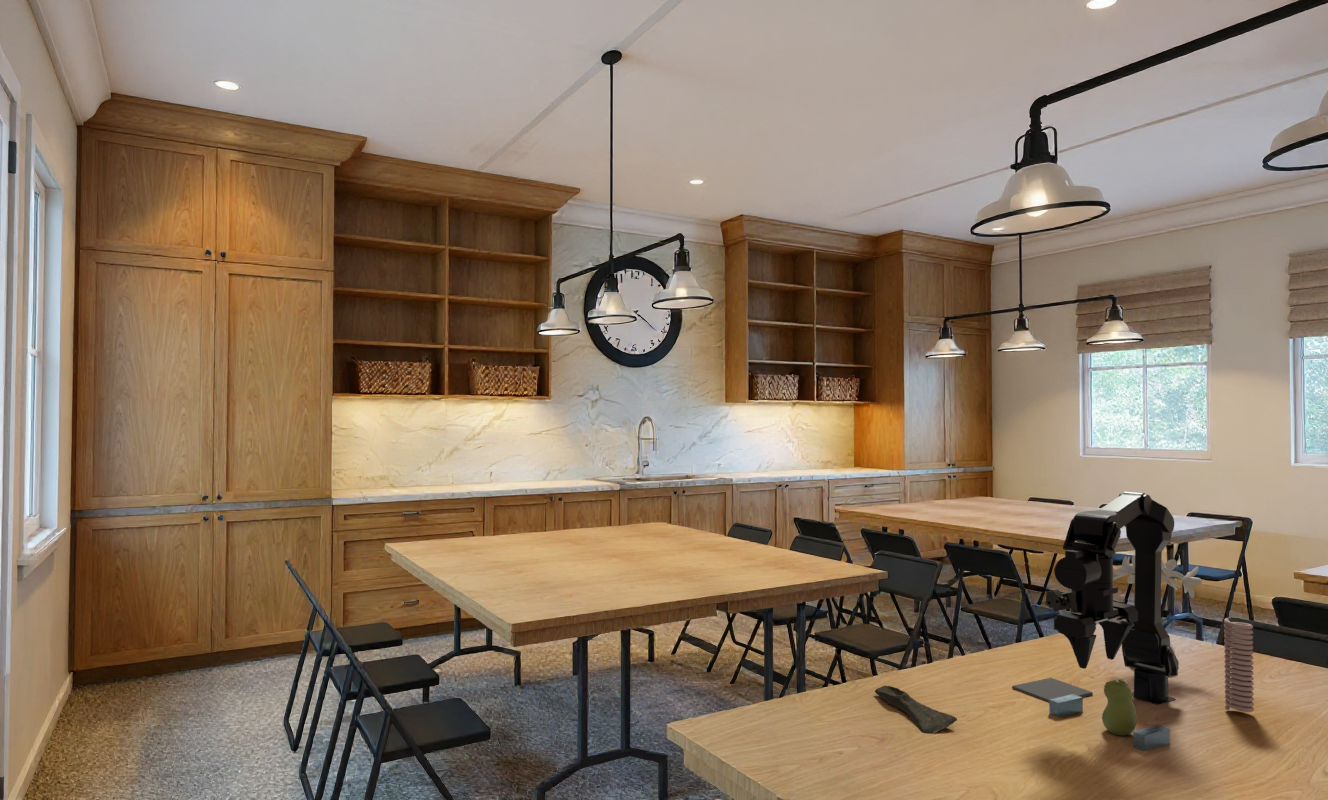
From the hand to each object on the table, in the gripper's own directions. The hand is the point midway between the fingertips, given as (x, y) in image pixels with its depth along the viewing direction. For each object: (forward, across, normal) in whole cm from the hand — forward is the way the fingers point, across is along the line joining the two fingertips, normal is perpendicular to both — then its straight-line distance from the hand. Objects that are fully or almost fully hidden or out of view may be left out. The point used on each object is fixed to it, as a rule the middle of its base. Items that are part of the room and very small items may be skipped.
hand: (1096, 663), depth 148 cm
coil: (+13, -31, +10) cm, 35 cm away
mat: (+12, -10, -16) cm, 22 cm away
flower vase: (+13, -49, -14) cm, 53 cm away
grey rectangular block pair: (+12, 0, +2) cm, 12 cm away
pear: (+12, 0, +4) cm, 13 cm away
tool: (+12, +22, -23) cm, 34 cm away
